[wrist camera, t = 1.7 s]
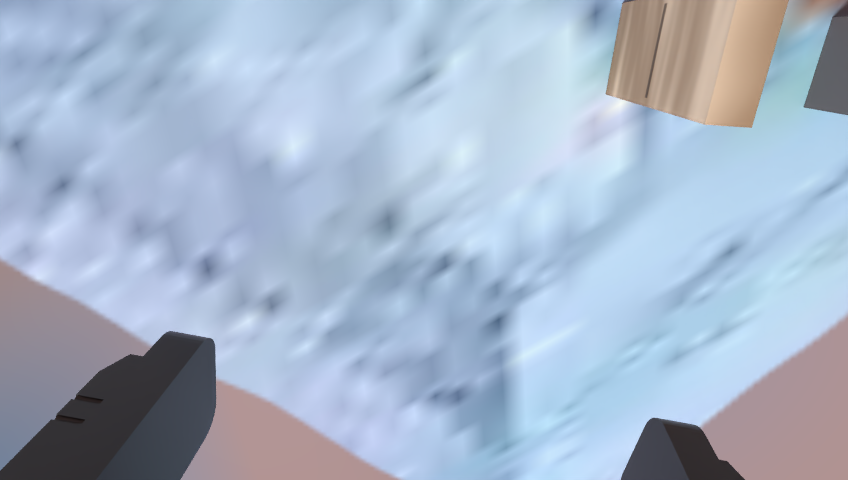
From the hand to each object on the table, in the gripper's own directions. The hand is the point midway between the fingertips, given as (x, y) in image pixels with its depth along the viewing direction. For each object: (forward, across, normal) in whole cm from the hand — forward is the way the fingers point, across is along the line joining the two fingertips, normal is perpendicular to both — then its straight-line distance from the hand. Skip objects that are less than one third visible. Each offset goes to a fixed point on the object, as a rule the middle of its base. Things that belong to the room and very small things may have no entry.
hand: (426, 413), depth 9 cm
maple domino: (+25, +9, +6) cm, 28 cm away
